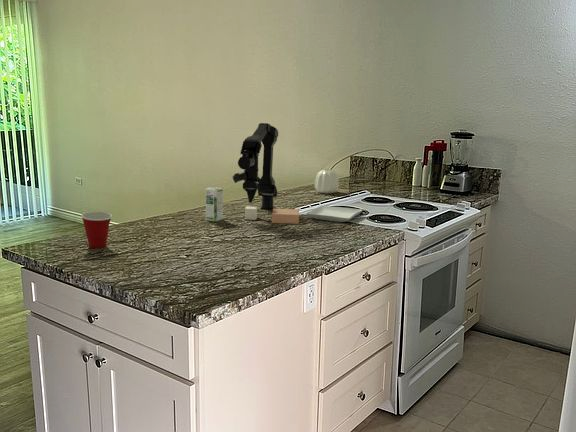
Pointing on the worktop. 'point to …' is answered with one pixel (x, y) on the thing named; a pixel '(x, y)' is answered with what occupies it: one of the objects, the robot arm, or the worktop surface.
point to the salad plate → (333, 213)
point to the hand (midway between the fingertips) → (251, 200)
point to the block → (251, 213)
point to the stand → (285, 216)
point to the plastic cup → (96, 228)
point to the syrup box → (214, 204)
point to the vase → (326, 181)
